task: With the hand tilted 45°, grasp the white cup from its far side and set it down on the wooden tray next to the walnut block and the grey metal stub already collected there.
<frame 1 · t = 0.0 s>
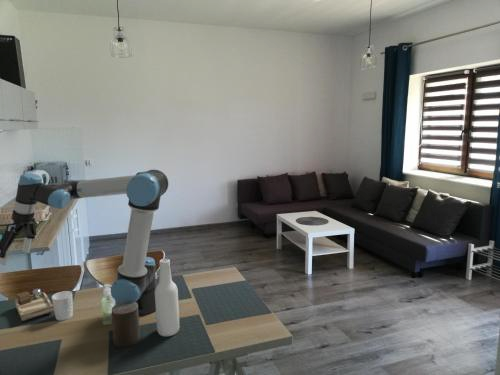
hand: (14, 257, 151), 28 cm above the table, tool tilted 20°, fingers open, 13 cm apart
metal stub: (37, 298, 168), point 3 cm above the table, touching wooden tray
alcohol: (168, 331, 146), on the table
pillar candle: (127, 340, 140), on the table
wooden tray: (34, 310, 163), on the table
white cup: (64, 316, 158), on the table
walnut block: (24, 302, 164), point 3 cm above the table, touching wooden tray
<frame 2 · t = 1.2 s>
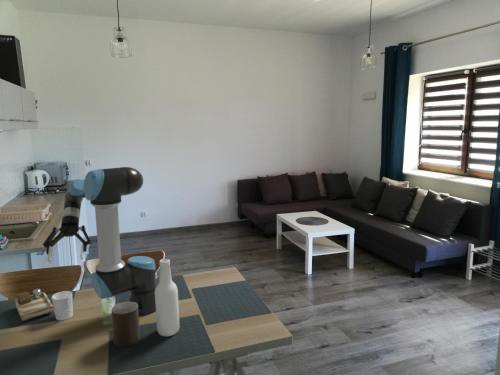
hand: (65, 259, 164), 22 cm above the table, tool tilted 45°, fingers open, 13 cm apart
nothing on the table moved.
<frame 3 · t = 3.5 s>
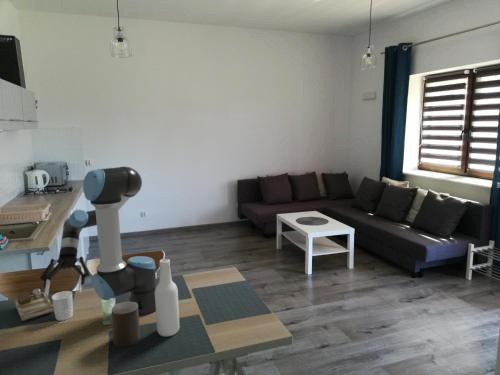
hand: (63, 293, 160), 9 cm above the table, tool tilted 45°, fingers open, 13 cm apart
nothing on the table moved.
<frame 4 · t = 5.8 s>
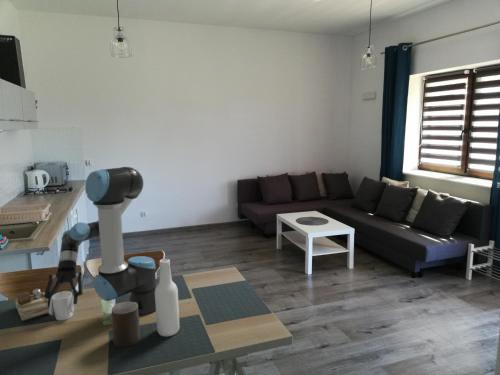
hand: (61, 312, 154), 4 cm above the table, tool tilted 45°, fingers closed on white cup, 8 cm apart
white cup: (64, 316, 158), on the table, touching gripper
everything else where it was.
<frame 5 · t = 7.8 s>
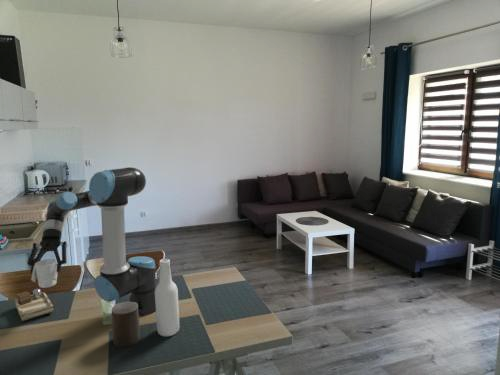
hand: (44, 280, 153), 18 cm above the table, tool tilted 45°, fingers closed on white cup, 8 cm apart
white cup: (47, 284, 157), point 14 cm above the table, touching gripper
everything else where it was.
when the fingers open (8 cm above the table, at t = 10.2 s): white cup drops 1 cm, resting on wooden tray.
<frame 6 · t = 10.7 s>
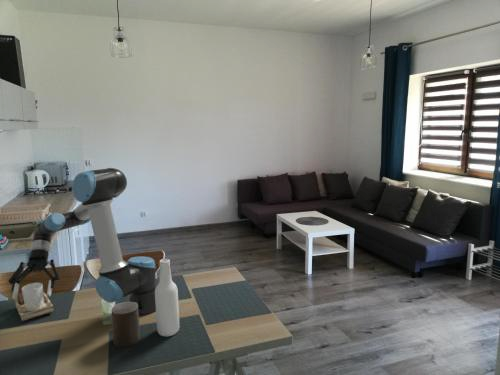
hand: (31, 297, 156), 9 cm above the table, tool tilted 45°, fingers open, 13 cm apart
white cup: (35, 308, 159), point 3 cm above the table, touching wooden tray
everything else where it was.
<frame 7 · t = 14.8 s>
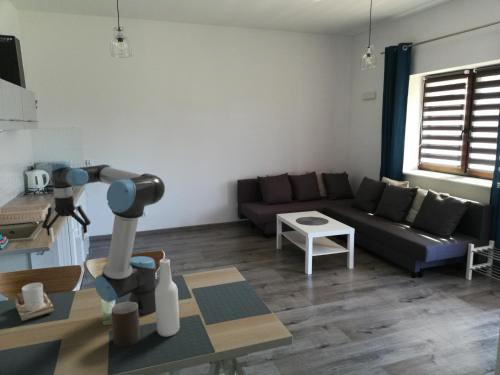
hand: (68, 240, 169), 29 cm above the table, tool pointing down, fingers open, 13 cm apart
nothing on the table moved.
at the end: white cup inside the target area on the wooden tray (0.4 cm from its centre), point 2.8 cm above the wooden tray's base; white cup tilted 0°; the gripper is holding nothing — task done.
